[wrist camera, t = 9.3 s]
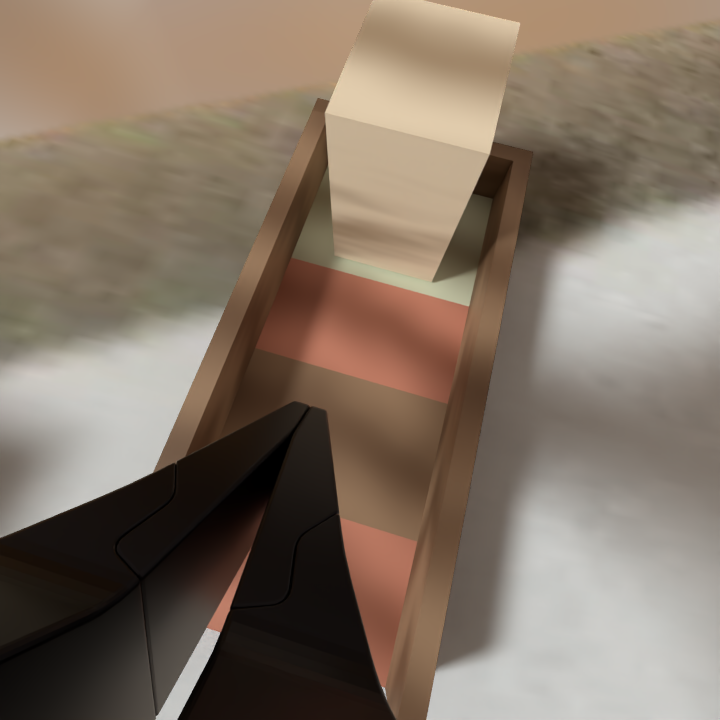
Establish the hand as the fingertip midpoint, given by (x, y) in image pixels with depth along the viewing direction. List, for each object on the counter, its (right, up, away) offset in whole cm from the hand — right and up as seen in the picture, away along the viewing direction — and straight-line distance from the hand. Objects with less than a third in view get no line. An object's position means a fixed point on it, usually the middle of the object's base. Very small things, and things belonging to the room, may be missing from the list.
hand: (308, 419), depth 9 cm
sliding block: (+4, +10, +13) cm, 17 cm away
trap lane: (+1, +1, +12) cm, 12 cm away
